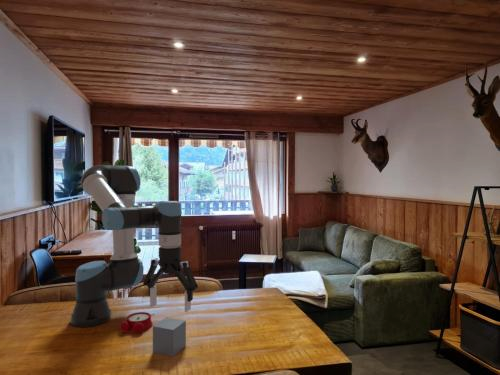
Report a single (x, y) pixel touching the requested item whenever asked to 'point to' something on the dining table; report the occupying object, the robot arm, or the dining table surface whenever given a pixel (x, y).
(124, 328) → the alarm clock
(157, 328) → the grey matte cube
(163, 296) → the dining table surface
